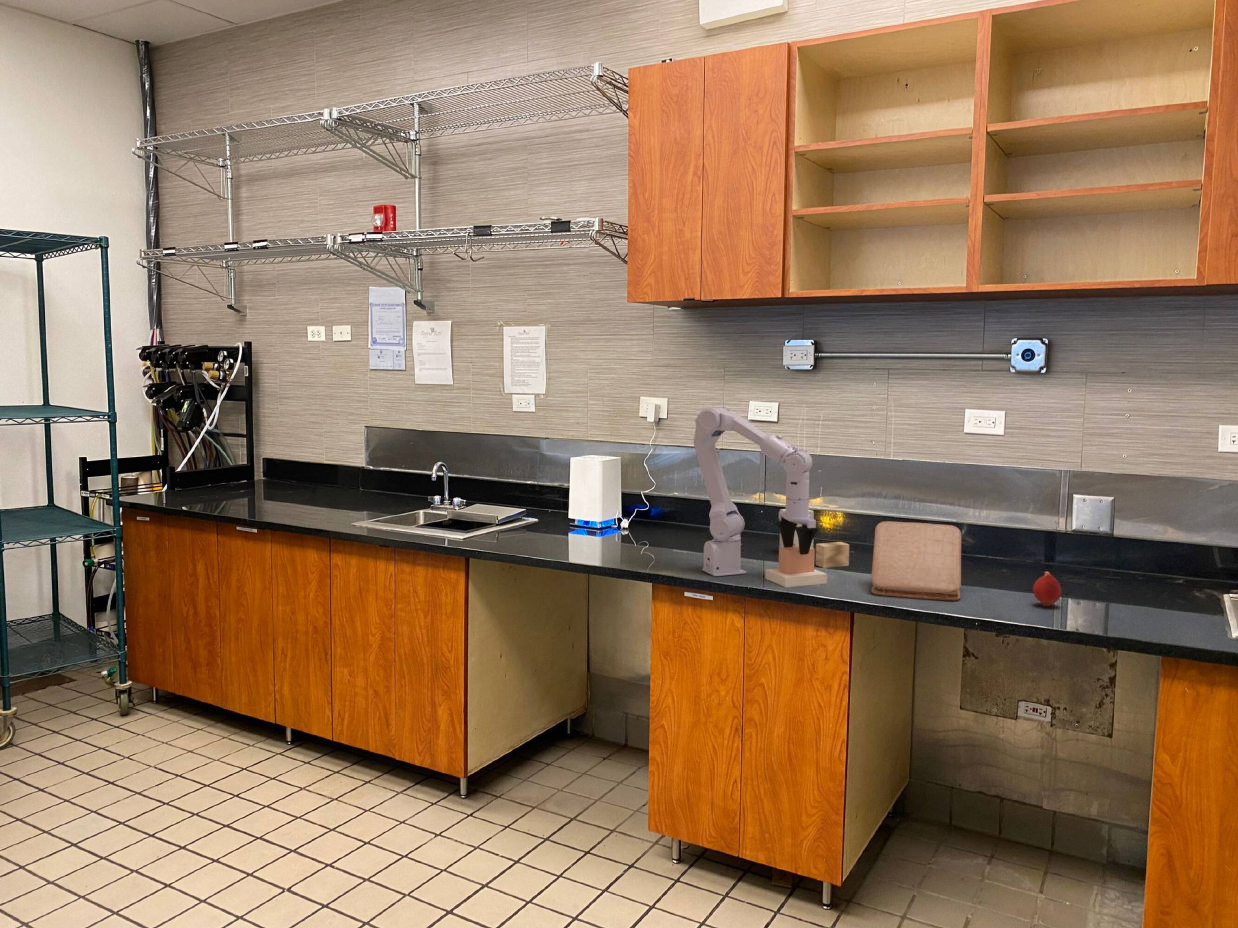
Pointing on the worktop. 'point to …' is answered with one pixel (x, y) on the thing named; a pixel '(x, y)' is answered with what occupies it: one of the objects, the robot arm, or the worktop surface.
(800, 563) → the terracotta brick
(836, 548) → the light oak brick
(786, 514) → the robot arm
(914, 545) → the case
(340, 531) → the worktop surface
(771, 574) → the base block
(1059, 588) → the onion
